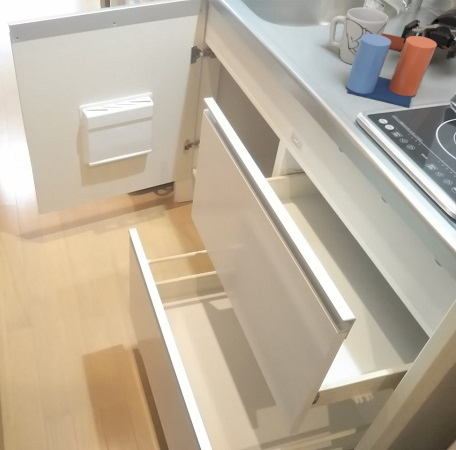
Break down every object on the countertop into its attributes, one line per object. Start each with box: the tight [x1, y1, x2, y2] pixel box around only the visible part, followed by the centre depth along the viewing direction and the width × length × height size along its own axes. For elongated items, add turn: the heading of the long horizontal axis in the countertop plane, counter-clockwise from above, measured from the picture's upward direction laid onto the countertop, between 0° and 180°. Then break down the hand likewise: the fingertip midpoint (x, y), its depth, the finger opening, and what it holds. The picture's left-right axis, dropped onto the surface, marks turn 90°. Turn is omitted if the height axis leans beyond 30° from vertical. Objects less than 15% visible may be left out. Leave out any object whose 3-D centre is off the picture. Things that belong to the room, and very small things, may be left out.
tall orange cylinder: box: [389, 35, 437, 97], centre depth 103 cm, size 6×6×10 cm
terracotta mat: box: [382, 32, 404, 53], centre depth 125 cm, size 10×8×1 cm
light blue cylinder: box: [345, 34, 391, 94], centre depth 102 cm, size 6×6×10 cm
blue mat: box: [346, 76, 413, 109], centre depth 106 cm, size 12×10×1 cm
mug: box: [328, 6, 389, 65], centre depth 114 cm, size 11×8×10 cm
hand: (427, 48), depth 106 cm, fingers open, 8 cm apart
